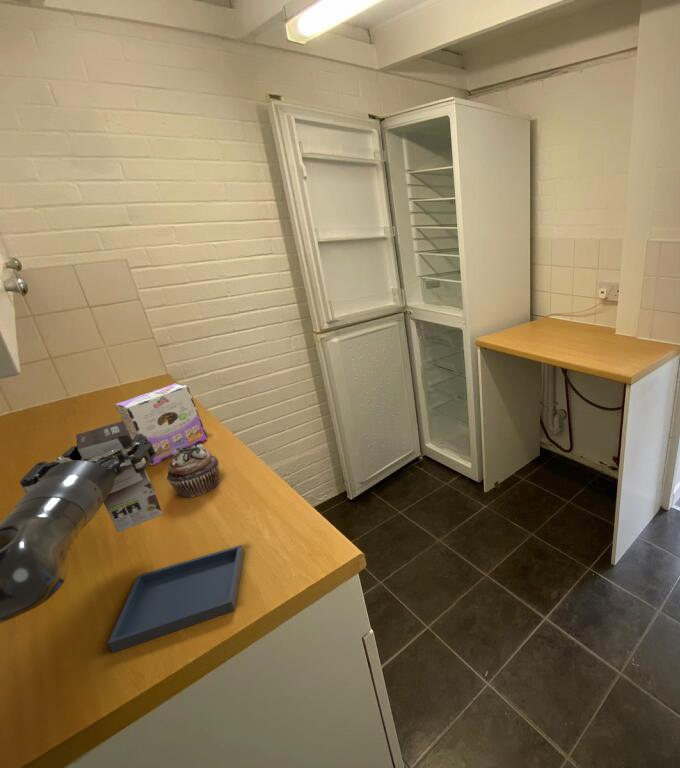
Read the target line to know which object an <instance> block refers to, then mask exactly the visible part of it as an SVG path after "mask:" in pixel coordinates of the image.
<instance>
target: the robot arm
mask: <svg viewBox="0 0 680 768" xmlns="http://www.w3.org/2000/svg"><path fill="white" fill-rule="evenodd" d="M129 451H132V453H133V455H130V456H129V457H128V454H127V453H128V452H129ZM115 455H116V456H117V458H118V460H119V461H118V460H116V459H114V458H113V456H115ZM155 456H156V453H155V450H154V448H153V446H152V443H151V441H148V440H147V438H146V436H143V434H138V435H136V436H135V437H134V439H133V440H132V441H131V443H130V444H129V445H127V446H125V447H123V448H115V449H113V450H111V451H109V452H107V453H105V454H103V455H101V456H95V457H93V458H90V459H82V457H81V455H80V453H79V451H78V450H77V445H74V446H71V447H70V448H69V449H68V450H66V451H65V452H63V454H62V455H61V456H58V457H55V458H53V459H52V461H51V462H47V461H40V462H37V463H36V464H35V465H34V466H33V467H32V468H31V469H30V470H29V471H28V472H27V473H26V474H25V475H24V477H22V478H21V479H20V480H19V484H20V486H21V487H22V489H23V491H24V492H25V494H24V495H23V496H21V497H20V499H19V501H18V502H17V503H16V506H15V507H14V508H13V509H12V510H11V512H10V513H9V514H7V515H6V517H5V518H4V519H3V520H2V521H1V522H0V625H1V624H4V623H6V622H8V621H10V620H13V619H16V618H18V617H19V616H21V615H23V614H26V613H28V612H30V611H33V610H34V609H36V608H38V607H40V606H41V605H43V604H44V603H46V602H47V601H48V600H50V599H51V598H52V597H53V596H54V595H55V594H56V593H57V592H58V591H59V589H60V588H61V587H62V586H63V584H64V583H65V581H66V579H67V574H68V568H69V561H70V555H71V548H72V545H73V544H74V542H75V541H76V539H77V538H78V536H79V535H80V533H81V532H82V530H83V529H84V528H85V527H86V526H87V525H88V524H89V523H90V522H91V521H92V520H93V519H94V517H95V516H96V514H97V513H98V512H99V509H100V508H101V507H102V506H103V505H104V503H103V502H104V501H105V499H106V498H107V496H108V495H109V494H110V492H111V490H112V488H113V485H114V481H115V478H116V477H117V476H119V475H121V474H122V473H123V471H126V470H132V469H134V470H135V472H136V473H141V472H143V471H145V470H146V471H147V469H148V467H149V466H150V465H149V464H150V463H151V461H152V460H153V458H154V457H155Z"/></svg>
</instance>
